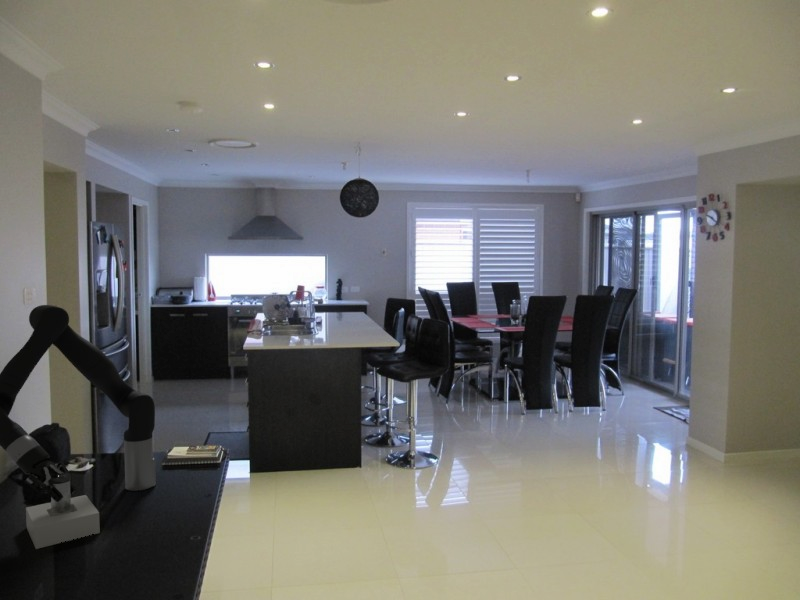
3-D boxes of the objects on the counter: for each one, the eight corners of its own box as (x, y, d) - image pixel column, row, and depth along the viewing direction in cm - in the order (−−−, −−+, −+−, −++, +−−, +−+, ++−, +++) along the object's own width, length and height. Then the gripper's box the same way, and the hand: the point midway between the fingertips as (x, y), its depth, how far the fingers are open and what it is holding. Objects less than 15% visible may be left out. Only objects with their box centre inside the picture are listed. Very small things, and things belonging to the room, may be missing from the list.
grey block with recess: (86, 513, 189) (85, 494, 189) (99, 532, 175) (99, 512, 175) (26, 527, 180) (25, 507, 179) (35, 549, 165) (35, 527, 165)
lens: (69, 505, 181) (68, 471, 180) (73, 510, 177) (72, 476, 176) (49, 509, 177) (48, 475, 177) (52, 514, 173) (51, 480, 173)
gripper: (17, 452, 170) (58, 496, 169) (52, 438, 184) (90, 479, 183) (0, 470, 171) (41, 514, 170) (36, 455, 185) (74, 495, 184)
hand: (66, 495), depth 177 cm, fingers closed on lens, 5 cm apart
